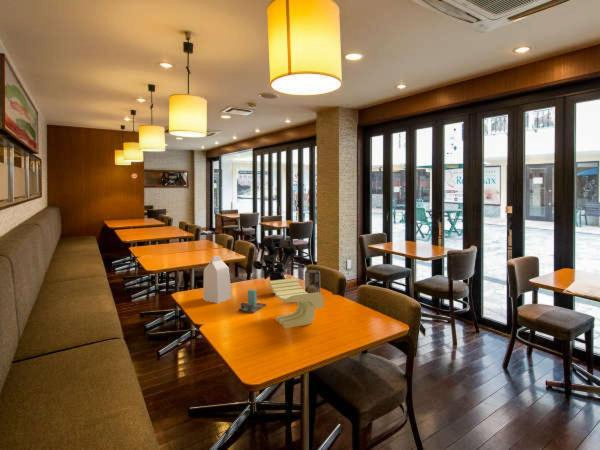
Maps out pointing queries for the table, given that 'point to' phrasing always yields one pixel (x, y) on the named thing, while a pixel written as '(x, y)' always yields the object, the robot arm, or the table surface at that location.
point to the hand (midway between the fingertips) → (265, 279)
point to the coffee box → (312, 281)
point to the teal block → (251, 299)
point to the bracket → (253, 309)
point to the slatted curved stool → (294, 293)
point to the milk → (216, 281)
